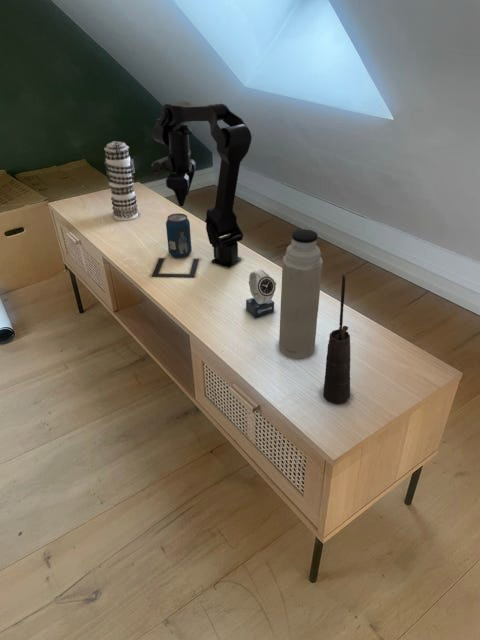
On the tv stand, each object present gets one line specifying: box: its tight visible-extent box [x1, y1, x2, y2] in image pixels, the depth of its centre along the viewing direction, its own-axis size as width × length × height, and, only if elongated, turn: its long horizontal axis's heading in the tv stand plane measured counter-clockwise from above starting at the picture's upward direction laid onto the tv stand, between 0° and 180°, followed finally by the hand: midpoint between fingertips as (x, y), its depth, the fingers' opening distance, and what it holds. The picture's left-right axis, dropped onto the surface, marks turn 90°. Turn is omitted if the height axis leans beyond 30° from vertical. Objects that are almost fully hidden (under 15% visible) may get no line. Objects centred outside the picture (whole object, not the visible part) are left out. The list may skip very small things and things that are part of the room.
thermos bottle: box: [278, 228, 324, 360], centre depth 105 cm, size 8×8×28 cm
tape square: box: [151, 257, 200, 278], centre depth 145 cm, size 11×12×1 cm
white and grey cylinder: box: [103, 140, 139, 221], centre depth 170 cm, size 9×9×25 cm
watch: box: [245, 269, 277, 319], centre depth 122 cm, size 6×8×11 cm
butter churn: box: [322, 274, 351, 405], centre depth 93 cm, size 9×10×28 cm
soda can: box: [165, 212, 192, 259], centre depth 148 cm, size 7×7×12 cm
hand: (183, 200), depth 154 cm, fingers open, 9 cm apart
